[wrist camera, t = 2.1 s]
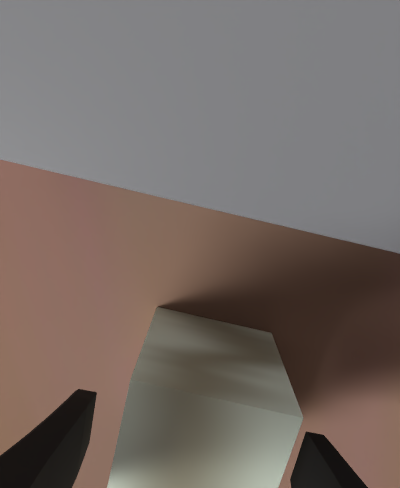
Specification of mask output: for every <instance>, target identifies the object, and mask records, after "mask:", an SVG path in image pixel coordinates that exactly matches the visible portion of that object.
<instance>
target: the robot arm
mask: <svg viewBox="0 0 400 488" xmlns="http://www.w3.org/2000/svg"><path fill="white" fill-rule="evenodd" d="M96 394H97V392H92V391H86V390H81V389H78V390H76V391H75V392H74V393H73V394H72V395H71V396H70V397H69V398H68V399H67V400H66V401H65V402H64V403H63V404H61V405H60V406H59V407H58V408H57V409H56V410H55V411H54V412H53V413H52V414H51V415H49V416H48V417H47V418H46V419H45V420H44V421H43V422H41V423H40V424H39V425H38V426H37V427H36V428H34V429H33V430H32V431H31V432H30V433H29V434H27V435H26V436H25V437H24V438H22V439H21V440H20V441H19V442H17V443H16V444H15V445H13V446H12V447H11V448H10V449H8V450H7V451H6V452H4V453H3V454H2V455H0V488H72V486H73V484H74V482H75V479H76V477H77V475H78V472H79V469H80V467H81V464H82V461H83V459H84V456H85V453H86V450H87V447H88V445H89V441H90V434H91V427H92V421H93V414H94V408H95V401H96ZM290 481H291V488H368V487H367V486H366V485H365V484H364V483H363V481H362V480H361V479H360V478H359V477H358V475H357V474H356V473H355V472H354V471H353V469H352V468H351V467H350V466H349V465H348V463H347V462H346V461H345V460H344V459H343V457H342V456H341V455H340V454H339V452H338V451H337V450H336V449H335V448H334V446H333V445H332V444H331V443H330V442H329V441H328V439H327V438H326V437H325V436H324V435H321V434H316V433H311V432H306V433H305V436H304V439H303V442H302V445H301V448H300V452H299V455H298V458H297V461H296V464H295V467H294V470H293V473H292V476H291V479H290Z"/></svg>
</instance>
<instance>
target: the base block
mask: <svg viewBox="0 0 400 488" xmlns="http://www.w3.org/2000/svg"><path fill="white" fill-rule="evenodd" d="M0 159H1V160H5V161H10V162H14V163H18V164H22V165H27V166H31V167H35V168H39V169H43V170H48V171H52V172H56V173H60V174H65V175H69V176H73V177H77V178H82V179H86V180H90V181H94V182H99V183H103V184H107V185H111V186H116V187H120V188H124V189H128V190H133V191H137V192H141V193H145V194H149V195H154V196H158V197H162V198H166V199H171V200H175V201H179V202H183V203H188V204H192V205H196V206H200V207H205V208H209V209H213V210H217V211H222V212H226V213H230V214H234V215H239V216H243V217H247V218H251V219H255V220H260V221H264V222H268V223H272V224H277V225H281V226H285V227H289V228H294V229H298V230H302V231H306V232H311V233H315V234H319V235H323V236H328V237H332V238H336V239H340V240H345V241H349V242H353V243H357V244H361V245H366V246H370V247H374V248H378V249H383V250H387V251H391V252H395V253H400V0H0Z"/></svg>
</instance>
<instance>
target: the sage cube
mask: <svg viewBox="0 0 400 488" xmlns="http://www.w3.org/2000/svg"><path fill="white" fill-rule="evenodd" d="M302 421H303V415H302V413H301V410H300V407H299V405H298V402H297V399H296V397H295V394H294V391H293V389H292V386H291V383H290V381H289V378H288V375H287V373H286V370H285V368H284V365H283V362H282V360H281V357H280V354H279V352H278V349H277V346H276V344H275V341H274V338H273V336H272V333H270V332H265V331H261V330H256V329H252V328H248V327H243V326H239V325H235V324H230V323H226V322H221V321H217V320H213V319H208V318H204V317H199V316H195V315H191V314H186V313H182V312H178V311H173V310H169V309H164V308H160V307H157V308H156V311H155V314H154V317H153V319H152V322H151V325H150V327H149V330H148V333H147V336H146V338H145V341H144V344H143V347H142V349H141V352H140V355H139V358H138V360H137V363H136V366H135V369H134V371H133V374H132V377H131V380H130V384H129V389H128V394H127V398H126V403H125V408H124V412H123V417H122V422H121V426H120V431H119V436H118V440H117V445H116V450H115V454H114V459H113V464H112V468H111V473H110V478H109V482H108V487H107V488H278V487H279V484H280V481H281V478H282V476H283V473H284V470H285V467H286V465H287V462H288V459H289V456H290V454H291V451H292V448H293V445H294V443H295V440H296V437H297V434H298V432H299V429H300V426H301V423H302Z"/></svg>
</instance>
